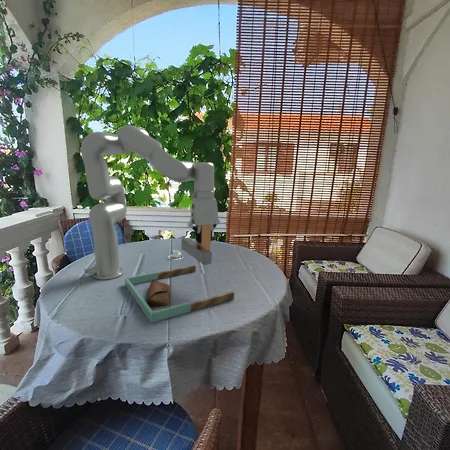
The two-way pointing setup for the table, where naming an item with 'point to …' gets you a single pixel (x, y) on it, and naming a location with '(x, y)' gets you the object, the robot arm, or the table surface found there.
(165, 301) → the sunglasses case
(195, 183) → the robot arm
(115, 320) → the table surface
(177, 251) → the white looped piece
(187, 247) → the plank and post
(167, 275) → the channel
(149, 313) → the tray
